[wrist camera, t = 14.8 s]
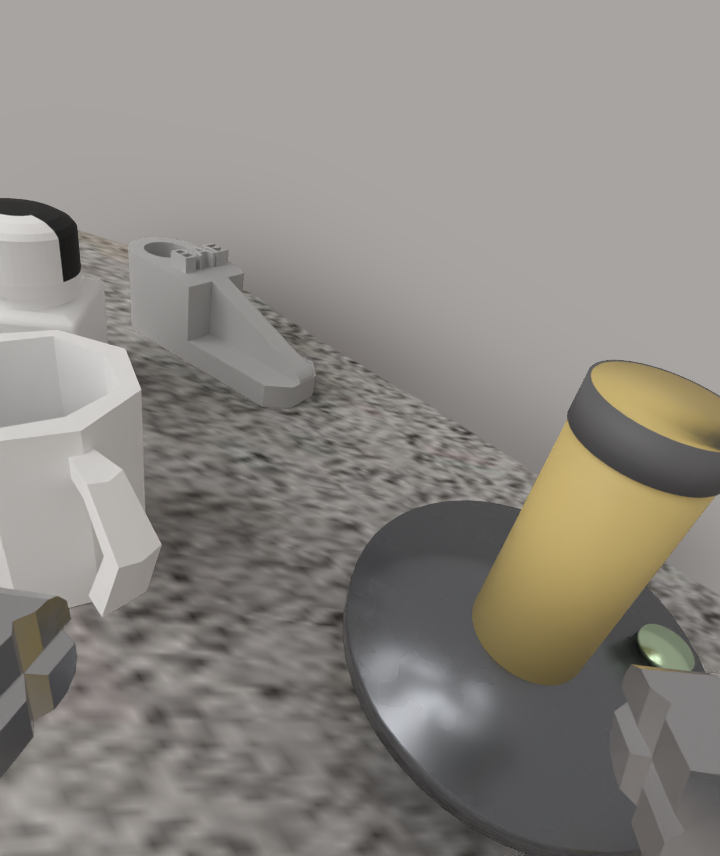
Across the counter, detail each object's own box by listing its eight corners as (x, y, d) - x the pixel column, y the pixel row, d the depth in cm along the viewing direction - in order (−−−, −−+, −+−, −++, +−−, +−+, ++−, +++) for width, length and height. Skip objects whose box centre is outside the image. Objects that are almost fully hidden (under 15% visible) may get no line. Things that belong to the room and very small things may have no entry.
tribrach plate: (261, 738, 22) (273, 680, 19) (405, 510, 34) (423, 458, 32) (672, 1002, 18) (751, 970, 15) (665, 635, 30) (709, 586, 28)
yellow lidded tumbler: (455, 645, 22) (579, 404, 16) (486, 564, 27) (595, 344, 20) (579, 712, 21) (774, 481, 14) (592, 615, 25) (748, 400, 18)
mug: (-81, 539, 26) (-148, 359, 20) (94, 467, 32) (78, 313, 27) (51, 721, 21) (8, 547, 15) (228, 595, 27) (244, 437, 21)
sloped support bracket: (276, 417, 40) (290, 318, 36) (117, 322, 47) (111, 227, 42) (323, 391, 44) (340, 299, 40) (170, 307, 51) (171, 220, 46)
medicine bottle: (2, 359, 39) (-33, 181, 32) (111, 369, 40) (99, 202, 34) (-41, 418, 33) (-95, 216, 26) (87, 427, 35) (67, 239, 28)
